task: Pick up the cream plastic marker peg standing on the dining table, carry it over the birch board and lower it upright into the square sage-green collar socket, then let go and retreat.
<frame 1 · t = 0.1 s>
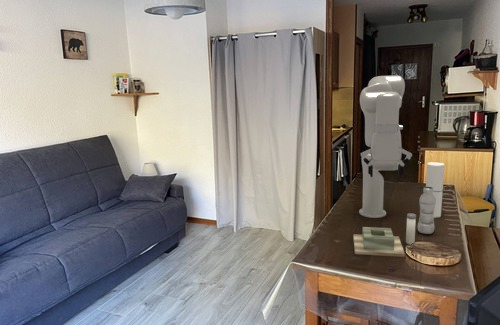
hand: (385, 176, 137), 31 cm above the table, fingers open, 9 cm apart
peg: (410, 242, 153), on the table
socket: (377, 246, 151), on the table
cylindrical container: (432, 215, 181), on the table
plastic bottle: (425, 233, 162), on the table
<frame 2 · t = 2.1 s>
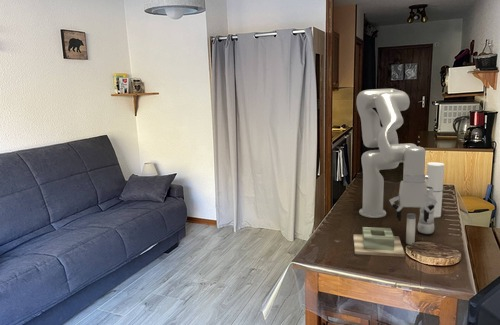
hand: (412, 220, 150), 10 cm above the table, fingers open, 9 cm apart
nothing on the table moved.
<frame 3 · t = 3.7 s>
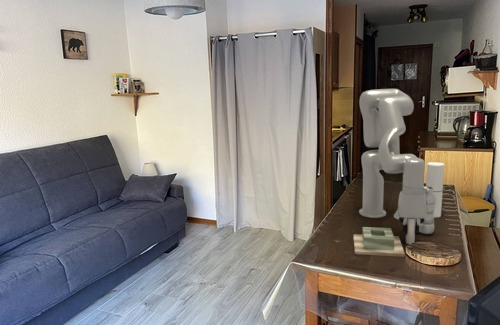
hand: (410, 233, 152), 4 cm above the table, fingers closed on peg, 3 cm apart
peg: (410, 242, 153), on the table, touching gripper
everything else where it was.
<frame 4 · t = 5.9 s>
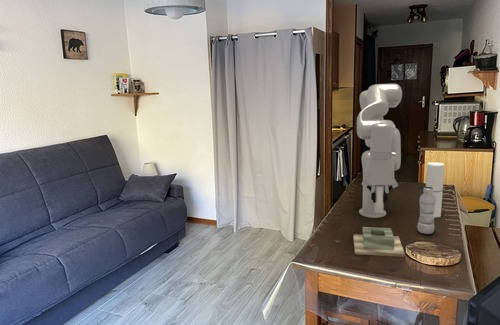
hand: (379, 201, 147), 19 cm above the table, fingers closed on peg, 3 cm apart
peg: (378, 212, 148), point 15 cm above the table, touching gripper
everything else where it was.
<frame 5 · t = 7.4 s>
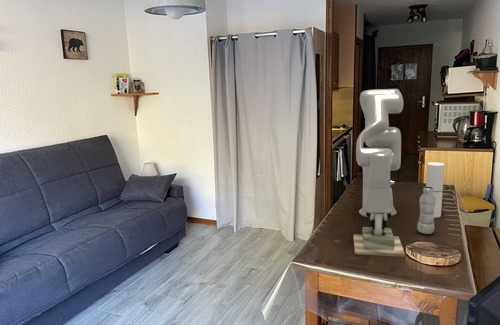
hand: (378, 228, 149), 8 cm above the table, fingers closed on peg, 3 cm apart
peg: (377, 238, 150), point 3 cm above the table, touching gripper
everything else where it was.
when the fingers open (6 cm above the table, at t = 8.3 s): peg stays where it is, resting on socket.
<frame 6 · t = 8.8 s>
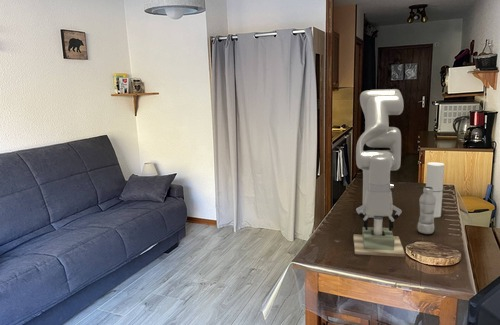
hand: (378, 229, 150), 7 cm above the table, fingers open, 8 cm apart
peg: (377, 243, 151), point 1 cm above the table, touching socket
everything else where it was.
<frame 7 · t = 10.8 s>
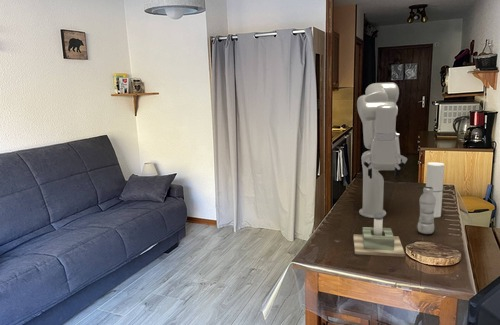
hand: (383, 178, 153), 26 cm above the table, fingers open, 9 cm apart
nothing on the table moved.
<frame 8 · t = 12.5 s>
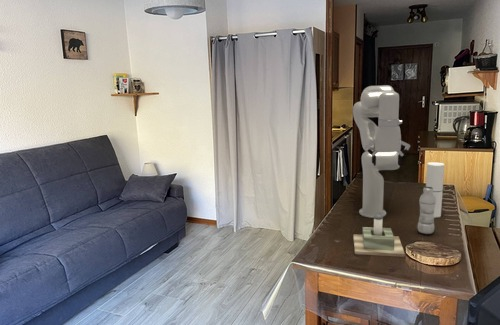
hand: (386, 165, 156), 30 cm above the table, fingers open, 9 cm apart
nothing on the table moved.
at the end: peg 0.0 cm off-centre on the socket, point 1.2 cm above the socket's base; peg tilted 0°; the gripper is holding nothing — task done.
